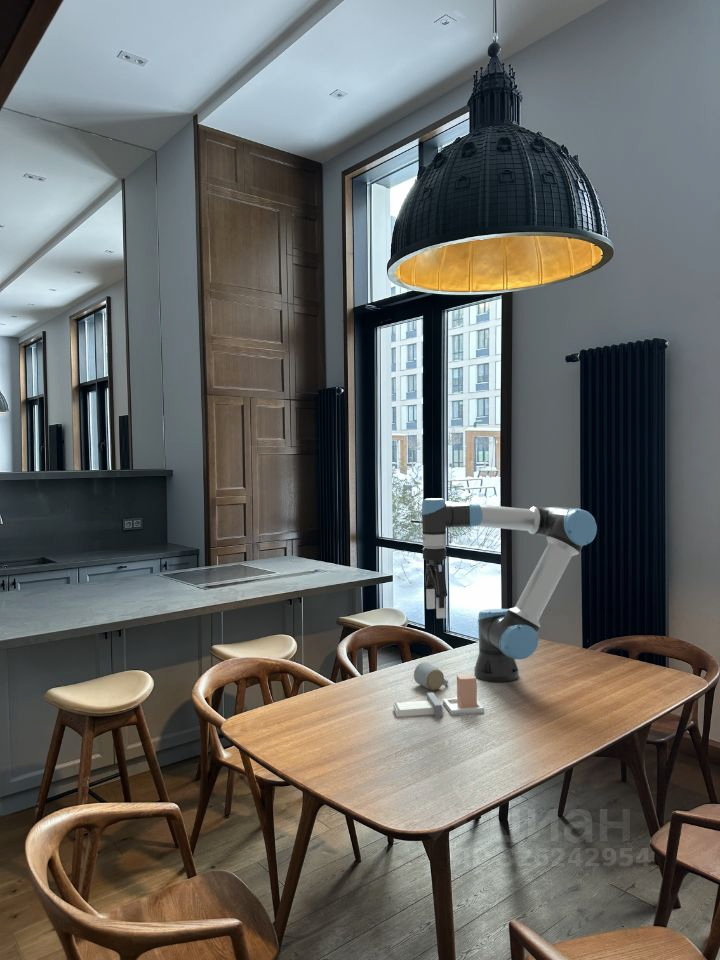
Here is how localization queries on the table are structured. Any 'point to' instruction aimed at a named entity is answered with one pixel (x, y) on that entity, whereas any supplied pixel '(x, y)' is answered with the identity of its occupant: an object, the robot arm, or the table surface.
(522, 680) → the table surface
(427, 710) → the white grey t-shaped block
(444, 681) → the ceramic mug
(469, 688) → the stub
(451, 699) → the stub tray
